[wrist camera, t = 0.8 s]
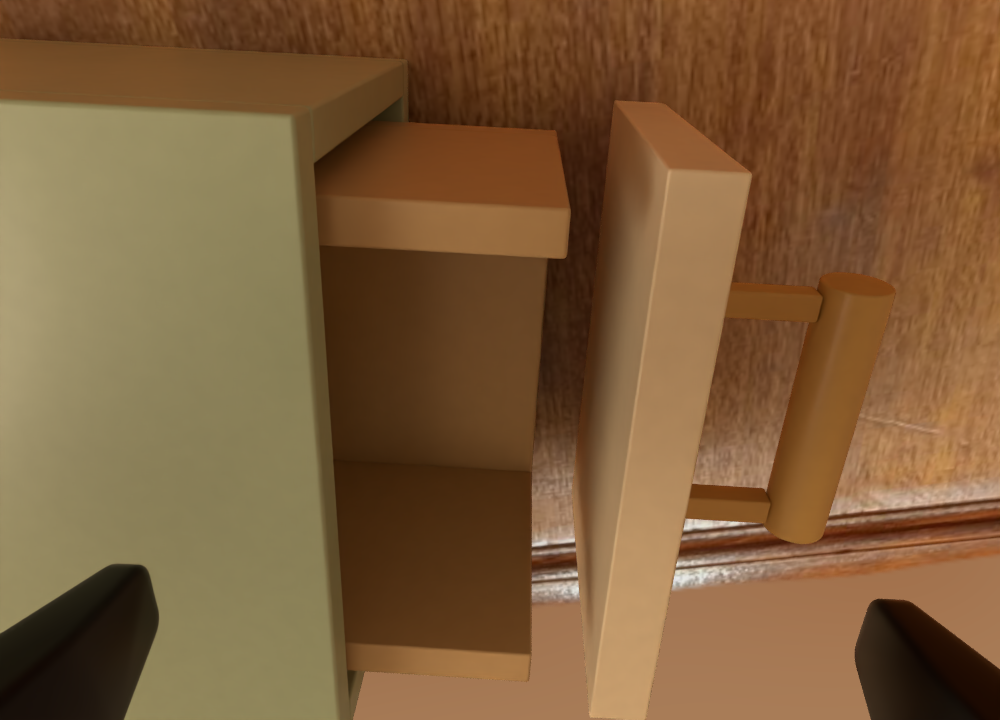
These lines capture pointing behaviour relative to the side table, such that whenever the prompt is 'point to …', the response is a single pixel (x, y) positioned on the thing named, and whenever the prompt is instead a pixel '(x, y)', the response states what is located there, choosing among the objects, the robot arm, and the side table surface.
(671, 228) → the drawer
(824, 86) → the side table surface
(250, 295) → the cabinet
